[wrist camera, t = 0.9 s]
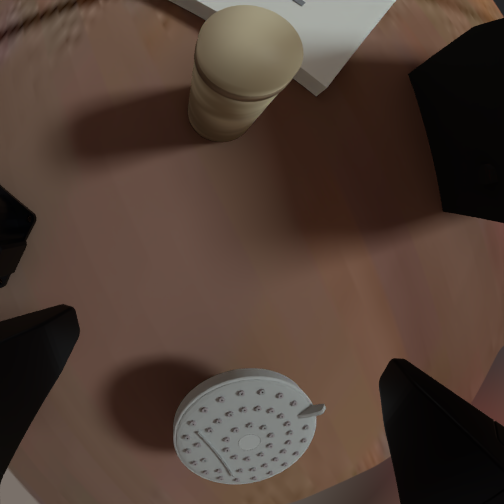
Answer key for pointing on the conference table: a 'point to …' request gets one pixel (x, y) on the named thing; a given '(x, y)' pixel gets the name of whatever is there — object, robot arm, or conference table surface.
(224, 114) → the beech peg
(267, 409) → the showerhead
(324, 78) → the hole plate
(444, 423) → the robot arm
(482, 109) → the uninterruptible power supply
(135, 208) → the conference table surface
